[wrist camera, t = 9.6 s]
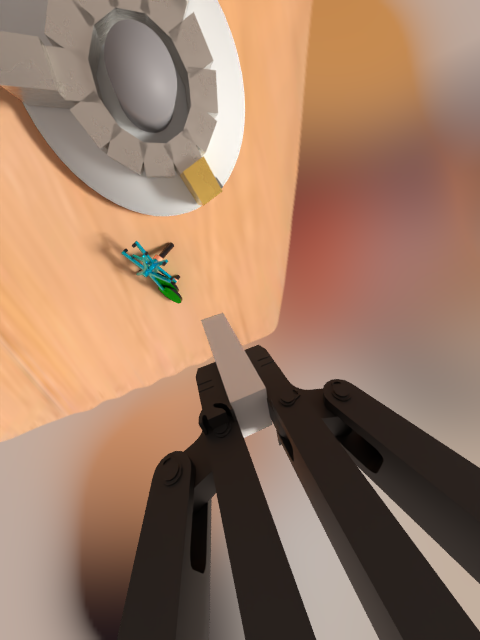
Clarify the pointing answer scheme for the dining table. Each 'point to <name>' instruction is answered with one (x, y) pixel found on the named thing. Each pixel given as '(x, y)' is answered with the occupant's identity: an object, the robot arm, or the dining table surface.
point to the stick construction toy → (163, 282)
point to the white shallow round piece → (141, 106)
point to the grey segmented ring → (84, 93)
